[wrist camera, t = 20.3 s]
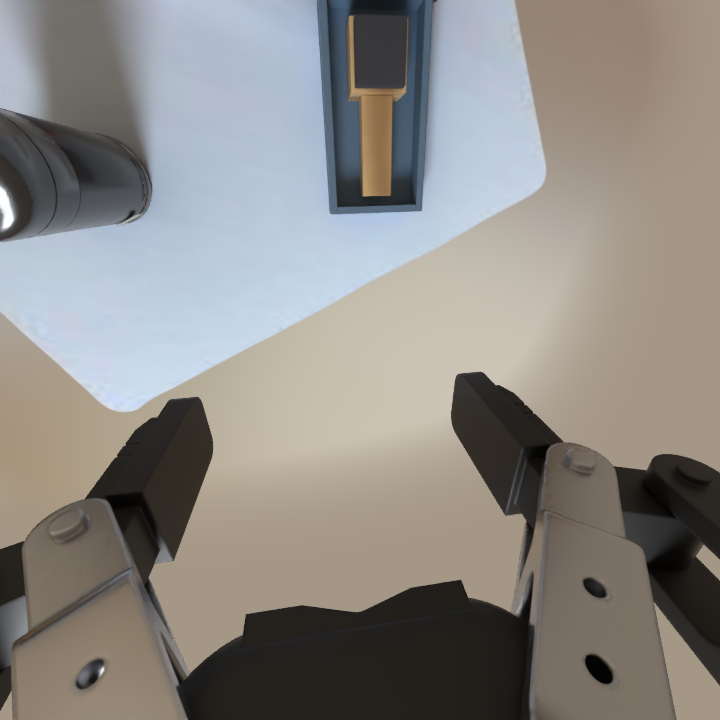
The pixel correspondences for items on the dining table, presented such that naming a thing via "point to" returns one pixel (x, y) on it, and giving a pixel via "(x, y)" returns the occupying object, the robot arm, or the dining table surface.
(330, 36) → the tray
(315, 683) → the robot arm
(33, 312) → the dining table surface
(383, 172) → the brush
